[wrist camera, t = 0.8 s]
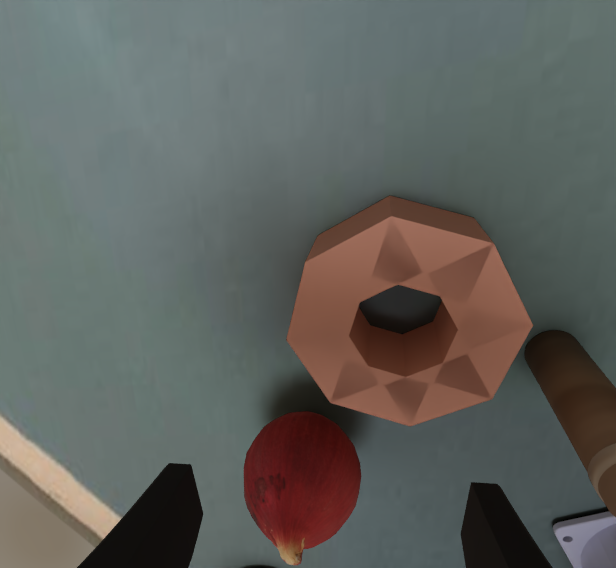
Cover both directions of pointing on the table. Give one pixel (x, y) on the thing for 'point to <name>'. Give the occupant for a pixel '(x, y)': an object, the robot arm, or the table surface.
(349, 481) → the onion
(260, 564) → the table surface
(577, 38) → the table surface
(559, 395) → the case
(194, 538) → the robot arm
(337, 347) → the orange octagonal ring
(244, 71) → the table surface
